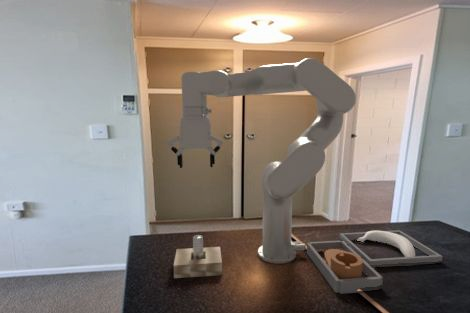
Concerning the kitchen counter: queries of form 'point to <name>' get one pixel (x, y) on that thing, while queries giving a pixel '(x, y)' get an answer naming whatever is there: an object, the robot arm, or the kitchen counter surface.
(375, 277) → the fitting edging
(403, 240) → the banana
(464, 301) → the kitchen counter surface
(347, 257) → the bracket
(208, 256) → the hole block
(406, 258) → the banana edging
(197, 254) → the steel peg
